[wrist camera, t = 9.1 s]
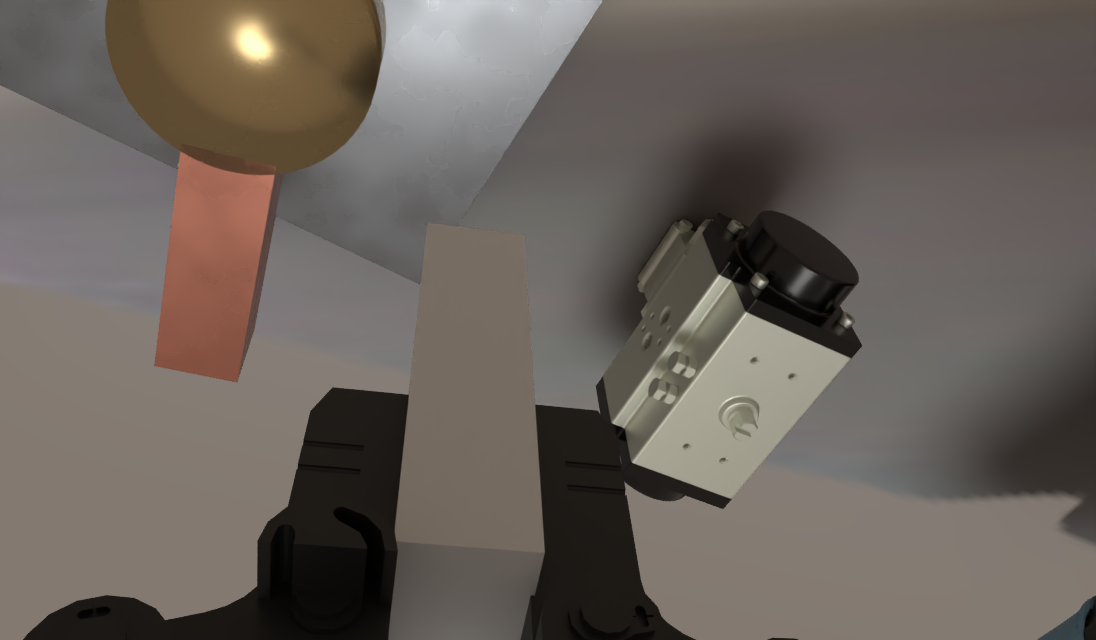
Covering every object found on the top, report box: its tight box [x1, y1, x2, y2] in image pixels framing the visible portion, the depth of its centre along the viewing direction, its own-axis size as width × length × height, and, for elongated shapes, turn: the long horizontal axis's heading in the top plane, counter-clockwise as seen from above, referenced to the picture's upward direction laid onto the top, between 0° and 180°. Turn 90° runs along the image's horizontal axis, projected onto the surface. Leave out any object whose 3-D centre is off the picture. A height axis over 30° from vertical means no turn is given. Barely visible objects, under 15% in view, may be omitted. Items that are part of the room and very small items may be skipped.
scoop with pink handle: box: [105, 0, 386, 382], centre depth 29 cm, size 14×7×3 cm, turn 162°
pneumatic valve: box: [596, 211, 862, 509], centre depth 40 cm, size 6×12×12 cm, turn 152°
